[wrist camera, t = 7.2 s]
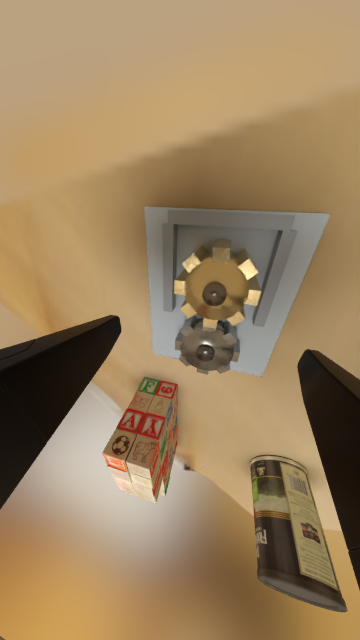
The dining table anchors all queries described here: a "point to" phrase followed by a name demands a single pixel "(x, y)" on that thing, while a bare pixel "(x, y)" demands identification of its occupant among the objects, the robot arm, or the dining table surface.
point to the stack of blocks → (145, 441)
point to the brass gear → (218, 284)
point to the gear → (208, 345)
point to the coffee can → (291, 534)
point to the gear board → (244, 232)
